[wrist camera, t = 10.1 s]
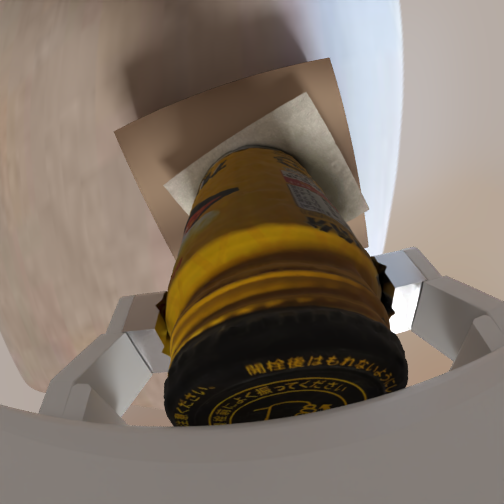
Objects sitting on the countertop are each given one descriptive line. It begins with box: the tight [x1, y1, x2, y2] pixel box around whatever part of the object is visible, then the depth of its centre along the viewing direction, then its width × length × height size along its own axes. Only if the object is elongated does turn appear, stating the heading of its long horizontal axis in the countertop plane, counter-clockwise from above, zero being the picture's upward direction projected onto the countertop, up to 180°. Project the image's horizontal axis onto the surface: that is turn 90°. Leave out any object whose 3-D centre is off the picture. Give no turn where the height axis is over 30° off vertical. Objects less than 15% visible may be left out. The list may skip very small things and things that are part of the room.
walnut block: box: [114, 58, 368, 260], centre depth 18 cm, size 12×12×5 cm
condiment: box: [163, 92, 408, 427], centre depth 10 cm, size 7×8×12 cm
